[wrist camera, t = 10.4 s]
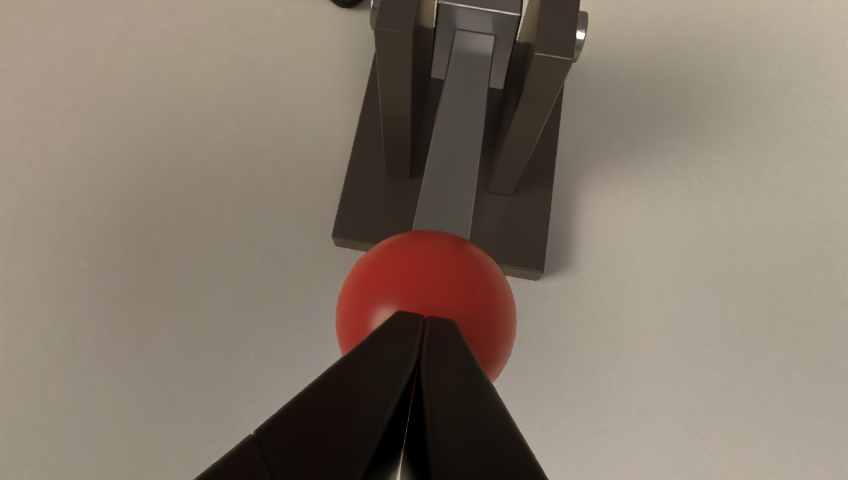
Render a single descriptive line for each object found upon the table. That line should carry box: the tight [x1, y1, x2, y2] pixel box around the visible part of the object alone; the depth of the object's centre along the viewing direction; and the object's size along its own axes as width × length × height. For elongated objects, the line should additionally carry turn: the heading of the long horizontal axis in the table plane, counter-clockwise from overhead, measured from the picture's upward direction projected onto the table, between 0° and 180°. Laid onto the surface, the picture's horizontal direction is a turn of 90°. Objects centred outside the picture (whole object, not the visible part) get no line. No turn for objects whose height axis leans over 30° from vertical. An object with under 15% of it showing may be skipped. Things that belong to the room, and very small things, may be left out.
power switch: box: [336, 0, 523, 408], centre depth 13 cm, size 13×3×3 cm, turn 170°
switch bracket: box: [332, 0, 588, 281], centre depth 20 cm, size 10×8×10 cm
